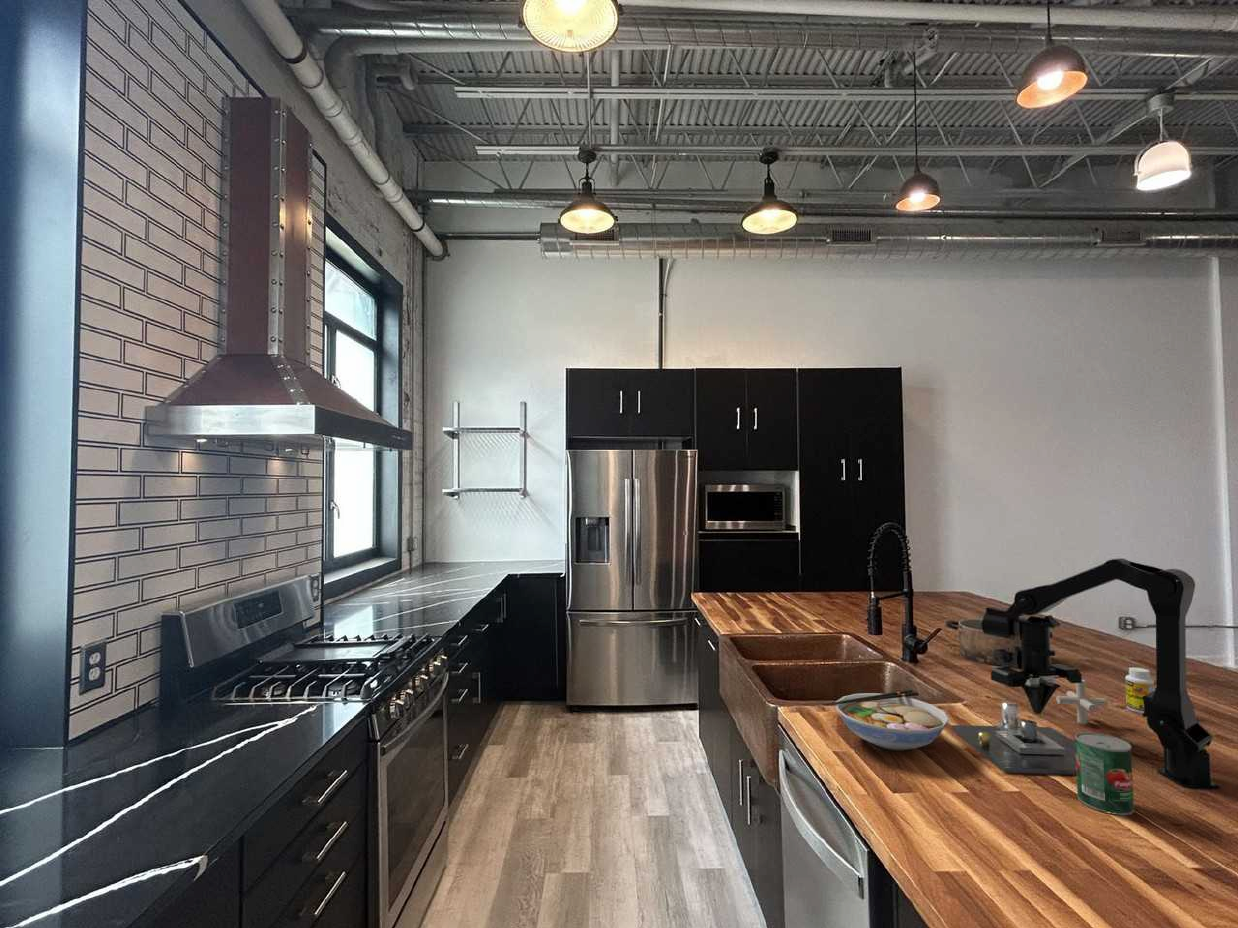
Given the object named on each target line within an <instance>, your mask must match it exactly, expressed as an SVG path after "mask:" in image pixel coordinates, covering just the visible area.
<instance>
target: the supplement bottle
mask: <svg viewBox="0 0 1238 928" xmlns="http://www.w3.org/2000/svg"><path fill="white" fill-rule="evenodd" d="M1155 690H1156V687H1155V680H1154V678H1151V674H1150V670H1149V669H1146V668H1141V667H1129V668H1128V674H1127V675H1125V703H1126V708H1127V709H1128V710H1130V711H1132V712H1134V713H1139V714H1142V715H1143V714H1144V710H1145V706H1144V702H1143V696H1144V695H1146V694H1148V693H1150V692H1152V691H1155Z"/></svg>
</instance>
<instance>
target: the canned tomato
mask: <svg viewBox="0 0 1238 928" xmlns="http://www.w3.org/2000/svg"><path fill="white" fill-rule="evenodd" d="M1074 738H1075V741H1074V742H1076V745H1075V746H1076V769H1077V775H1076V791H1077V792H1076V793H1077V795H1076V797H1078V798H1077V799H1079V800H1080V801H1081V802H1083V803H1084V804H1085V806H1086V805H1087V806H1086V807H1088V806H1089V807H1088V808H1090V807H1091V808H1090V809H1092V808H1093V810H1095V809H1097V810H1096V811H1098V810H1100V811H1104V812H1110V813H1113V814H1114V813H1115V814H1120V815H1119V816H1130V815H1132V814H1134V812H1135V807H1134V785H1133V765H1132V764H1133V760H1132V759H1133V757H1132V745H1131V744H1130V743H1129V742H1127V741H1125V740H1123V739H1121V738H1119V737H1115V736H1113V735H1110V734H1109V735H1108V734H1104V733H1097V732H1091V731H1090V732H1088V731H1086V732H1077V733H1076V734H1075V735H1074ZM1079 800H1078V801H1079ZM1080 801H1079V802H1080ZM1081 802H1080V803H1081ZM1083 803H1082V804H1083ZM1084 804H1083V805H1084ZM1100 811H1099V812H1100ZM1104 812H1103V813H1104ZM1113 814H1112V815H1113Z"/></svg>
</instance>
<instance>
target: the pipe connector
mask: <svg viewBox="0 0 1238 928" xmlns="http://www.w3.org/2000/svg"><path fill="white" fill-rule="evenodd" d="M1086 685H1087V684H1086V680H1085V679H1082V683H1075V690H1076V691H1075V692H1074V691H1072V690H1068V691H1066V694H1065V695H1057V696H1056V697H1055V698H1056V703H1057V704H1058V705H1073V706H1074V705H1076V717H1077V718H1076V719H1077V723H1078V724H1082V725H1087V724H1088V714H1087V711H1088V712H1090V713H1093V714H1094V713H1097V712H1098V711H1099V710H1098V709H1099V708H1098V707H1108V700H1107V699H1106V698H1104V697H1103V698H1102V697H1101V698H1100V697H1087V688H1086Z"/></svg>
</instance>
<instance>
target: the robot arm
mask: <svg viewBox="0 0 1238 928" xmlns="http://www.w3.org/2000/svg"><path fill="white" fill-rule="evenodd" d="M1117 580H1118V581H1121V582H1122V583H1123V582H1124V583H1125V584H1127V585H1130V586H1133V587H1134V588H1138V589H1140V590H1143V591H1146V592H1147V598H1148V602H1149V604H1150V606H1151V608H1152V611H1153V612H1154V615H1155V666H1156V667H1155V674H1156V675H1155V678H1156V680H1155V681H1156V682H1155V683H1156V685H1155V686H1156V687H1155V691H1152V692H1150V693H1148V694H1146V695H1144V696H1143V702H1144V706H1145V710H1144V714H1143V713H1142V717H1143V718H1146V723H1147V726H1148V728H1149V729H1151V730H1152V732H1154V733H1155V734H1156V736H1157V738H1158V740H1159V742H1160V744H1161V746H1162V748H1163V763H1164V765H1163V767H1164V768H1156V772H1157V773H1159V774H1160V775H1162V776H1164V777H1166V778H1168V779H1170V780H1171V781H1173V782H1175V783H1176V784H1178V785H1181V786H1182V787H1184V788H1204V789H1207V788H1210V789H1211V788H1212V789H1213V788H1214V789H1220V788H1221V786H1220V784H1219V783H1217V782H1215V781H1213V780H1211V777H1212V776H1211V760H1210V759H1211V758H1210V753H1208V752H1207V751H1208V750H1207V749H1206V748H1207V747H1209V746H1211V743H1212V742H1213V739H1214V737H1213V735H1212V734H1211V733H1210V732H1209V731H1208V730H1206V728H1204V727H1203V726H1202V725H1201V723H1199V721H1197V717H1196V711H1195V708H1194V704H1193V701H1192V699H1191V697H1190V696H1189V693H1188V690H1187V647H1186V644H1187V643H1186V641H1187V640H1186V638H1187V636H1186V630H1187V629H1186V618H1187V615H1188V612H1189V609H1190V606H1192V605H1191V604H1192V602H1193V598H1194V594H1195V588H1196V583H1195V580H1194V577H1192V576H1191V575H1190V574H1188V572H1187V571H1183V570H1181V569H1178V568H1168V569H1167V568H1166V569H1163V568H1160V567H1156V566H1151V565H1147V564H1142V563H1137V562H1134V561H1131V560H1128V559H1127V558H1126V559H1125V558H1122V557H1121V558H1120V557H1119V558H1118V557H1117V558H1112V559H1107V560H1106V561H1105V562H1103V563H1102V564H1099V565H1097V566H1094V567H1091V568H1089V569H1086V570H1084V571H1081V572H1078V573H1076V574H1073V575H1071V576H1069V577H1066V578H1063V579H1061V580H1059V581H1056V582H1053V583H1050V584H1045V585H1039V586H1035V587H1029V588H1025V589H1020V590H1019V591H1017V592H1015V594H1014V599H1013V602H1012V604H1011V605H1010V606H1009V608H1007V609H1003V608H997V607H995V606H994V607H993V606H989V607H986V608H985V614H984V615H983V617H982V619H983V621H982V630H983V632H984V634H985V635H989V636H995V637H1000V638H1005V639H1011V640H1013V639H1015V637H1016V636H1019V635H1020V646H1016V647H1015V652H1009V653H1008V652H1007V651H1006V650H1005V649H997V650H994V658H995V661H996V663H998V664H999V663H1002V666H1003V667H1000V666H998V667H993V668H992V669H991V670H990V680H991V681H994V682H997V683H999V684H1001V685H1004V686H1006V687H1009V688H1020V687H1021V689H1023V691H1024V693H1025V696H1026V697H1027V700H1028V702H1029V704H1030V706H1031V710H1032V711H1033V713H1034V714H1036V715H1042V712H1043V711H1044V709H1045V708H1046V706H1047V704H1048V702H1050V699H1051V698H1052V696H1053V695H1054V693H1055V692H1056V690H1057V689H1060V688H1061V685H1060V684H1058V683H1056V680H1055V679H1065V678H1066V681H1068V682H1069V683H1070V684H1076V683H1082V680H1083V678H1082V673H1081V672H1080V671H1079V669H1077V668H1075V667H1072V666H1068V665H1065V664H1062V663H1056V664H1055V663H1054V664H1053V663H1052V662H1051V659H1052V658H1051V657H1054V656H1056V650H1053V649H1051V638H1050V628H1051V629H1054V628H1057V627H1061V623H1060V622H1059V621H1057V619H1055V618H1054V617H1053V615H1052V614H1049V615H1046V616H1045V617H1040V616H1036V615H1037V614H1038V615H1039V614H1043V613H1047V612H1049V611H1050V610H1052V609H1054V608H1055V607H1057V606H1059V605H1061V603H1062V602H1064V601H1066V600H1067V599H1069V598H1071V597H1073V596H1076V595H1079V594H1081V593H1084V592H1087V591H1090V590H1092V589H1095V588H1098V587H1101V586H1104V585H1106V584H1109V583H1111V582H1115V581H1117ZM1023 616H1029V617H1028V618H1023ZM1008 666H1013V667H1008ZM1019 670H1020V671H1019Z"/></svg>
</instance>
